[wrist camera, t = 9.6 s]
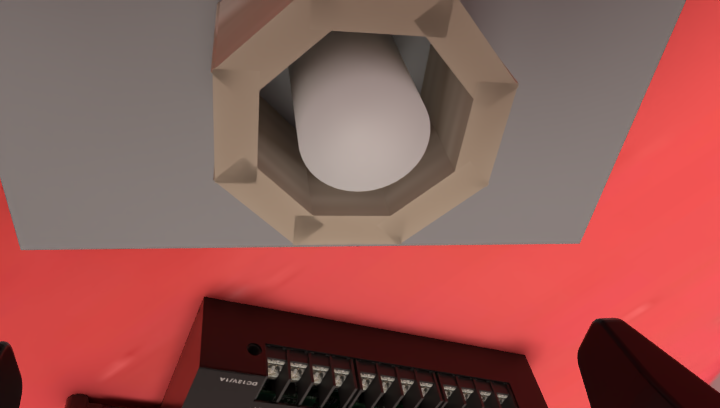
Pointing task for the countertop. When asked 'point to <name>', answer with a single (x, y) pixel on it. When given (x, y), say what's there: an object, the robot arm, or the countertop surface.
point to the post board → (160, 128)
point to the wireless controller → (332, 366)
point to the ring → (279, 138)
